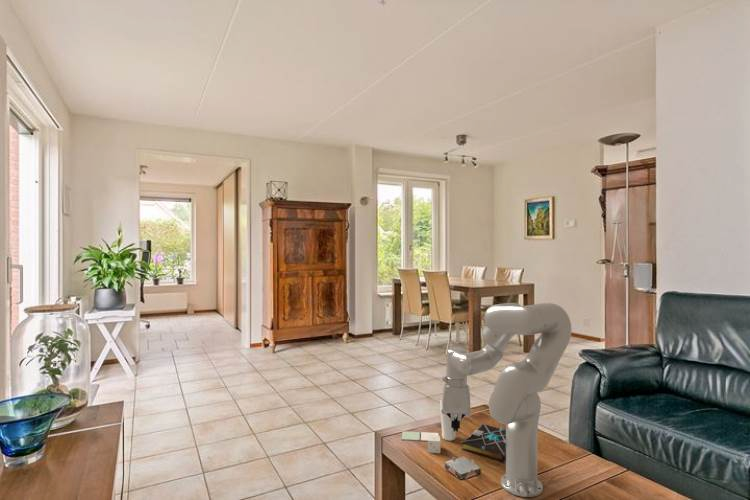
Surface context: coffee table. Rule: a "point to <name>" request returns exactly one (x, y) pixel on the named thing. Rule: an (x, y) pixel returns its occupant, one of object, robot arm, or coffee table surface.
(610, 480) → the coffee table surface
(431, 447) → the die
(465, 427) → the coffee table surface
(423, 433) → the squares
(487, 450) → the book
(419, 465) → the coffee table surface
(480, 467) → the coffee table surface
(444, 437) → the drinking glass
